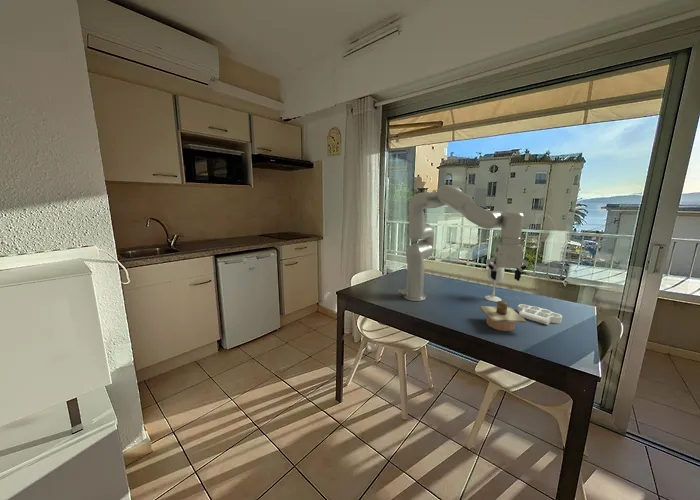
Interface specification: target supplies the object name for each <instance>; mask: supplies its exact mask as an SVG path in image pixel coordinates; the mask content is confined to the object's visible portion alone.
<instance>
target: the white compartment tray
mask: <svg viewBox="0 0 700 500" xmlns="http://www.w3.org/2000/svg"><path fill="white" fill-rule="evenodd" d="M516 312H517V313H518V314H519V315H520V316H521V317H522V318H523V319H525V320H530V321H532V322H536V323H538V324H542V325H545V326H548V325H549V324H550V323H553V324H561V323H562V320H563V315H562V314H560V313H556V312H554V311H552V310H549V309H547V308H541V307H539V306H534V305H532V306H531V305H528V304H525V303H524V304H522V303H520V304H518V305H517V311H516Z"/></svg>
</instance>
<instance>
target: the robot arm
mask: <svg viewBox="0 0 700 500" xmlns="http://www.w3.org/2000/svg"><path fill="white" fill-rule="evenodd" d="M442 206H447V207H448V206H449V207H450V208H452V209H453V210H455V211H457V212H459V213H460V214H461V215H462V216H463V217H464V218H465V219H466V220H468V221H469V222H470V223H473V224H474V225H476V226H478V227H480V228H481V229H486V230H490V229H491V230H492V229H495V228H501V229H500V236H499V238H498V237H497V238H496V242H499V243H497V246H496V249H495V252H494V256H492V257H490V258H488V259H485V263H486V265H487V267H489V268H490V269H491V278H492V279H493V280H496V274H497V271H496V270H497V269H498V268H499V267H500V268H504V269H515V271H514V276H513V277H514V278H513V279H514V280H516V282H517V281H518V282H520V279H521V277H522V273H523V272H524V270H525V269H527V267H528V266H529V264H530V262H529V261H528V260H527V259H524V257H523V256H524V254H523V252H524V251H523V245H522V244H521V240H522V239H521V238H522V232H523V224H524V219H525V218H524V217H525V216H524V215H525V214H523V213H522V212H520V211H501V210H490V211H489V210H487V209H486V208H483V207H482V206H480V205H478V204H477V203H475V202H474V199H473V197H472V196H471V195H469V194H467V193H464V192H463V191H462V189H461V188H460V187H459V186H458V185H452V184H445V185H442V186H440V187H439V188H438V189H437V191H434V192H432V191H431V192H429V191H427V192H419V193H416V194H414V195H413V196H412V197H411V199H410V201H409V203H408V216H409V217H408V218H409V219H408V236H409V240H411V241H412V242H417V243H412V244H410V245H408V247H407V249H406V252H405V256H406V257H405V258H406V263H407V265H406V266H407V268H406V269H407V270H406V287H405V288H404V289H398V294H400V295H403V298H404V299H406V300H408V301H410V302H411V301H412V302H422V301H425V300H426V297H427V296H426V294H424V287H425V285H424V284H425V280H424V279H425V263H424V260H425V259H427V258H430V257H431V256H432V255H433V252H434V245H435V243H434V242H435V240H434V238H435V231H434V228H433V226H432V225H431V224H430V223H426V214H425V212H424V210H425V209H436V208H440V207H442ZM491 262H494V265H493V266H492V265H491Z"/></svg>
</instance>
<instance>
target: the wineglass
mask: <svg viewBox="0 0 700 500" xmlns="http://www.w3.org/2000/svg"><path fill="white" fill-rule="evenodd" d="M491 265H492V266H493V265H494V261H492V262H491ZM487 267H488V266H487ZM496 271H497V274H496V280H493V279H492V278H491V269H490V268H489V267H488V268H487V278H488V279H489V281H491V283H492V293H491V295H485V296H484V299H485V300H486V301H489V302H493V303H494V302H495V303H497V302H498V301H503V299H501V298H500V297H498V296H497V295H496V285H497V283H499V282H501V281H502V280H503V279H504V276H505V268H500V267H499V268H498V269H497V270H496Z"/></svg>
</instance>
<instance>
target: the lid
mask: <svg viewBox="0 0 700 500" xmlns="http://www.w3.org/2000/svg"><path fill="white" fill-rule="evenodd" d="M496 303H497V304H496V306H489V305H488V306H487V305H479V309H480V310H481V311H482V312H483V314H484V315H485V316H486V318H487V317H488V318H489V319H490V320H491V321H503V322H515V323H527V319H526V318H523V317H521V316H520V315H519V312H518V311H515V309H513V308H512V307H511V306H508V304H509V303H508V302H507V301H505V300H504V301H503V300H502V301H498V302H496Z"/></svg>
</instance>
